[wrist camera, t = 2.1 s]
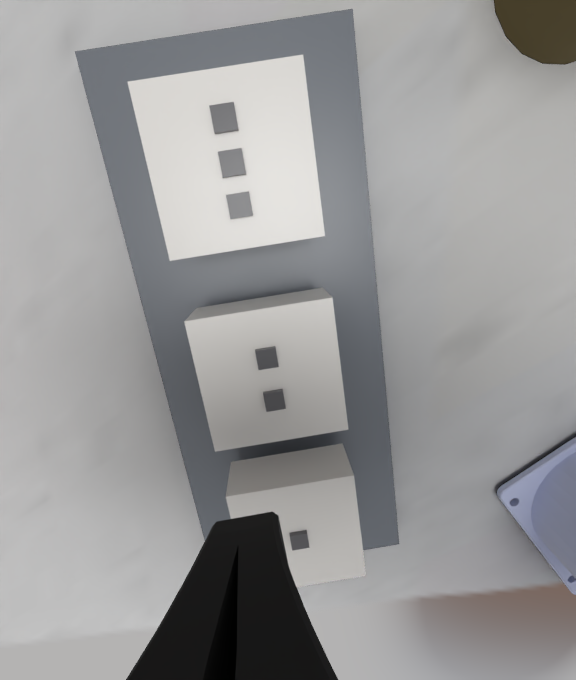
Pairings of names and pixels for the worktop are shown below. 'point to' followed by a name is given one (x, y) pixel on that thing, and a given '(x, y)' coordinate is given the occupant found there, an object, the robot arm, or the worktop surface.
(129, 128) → the keypad base
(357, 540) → the key one
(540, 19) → the cork
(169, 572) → the worktop surface
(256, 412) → the key two
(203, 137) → the key three
